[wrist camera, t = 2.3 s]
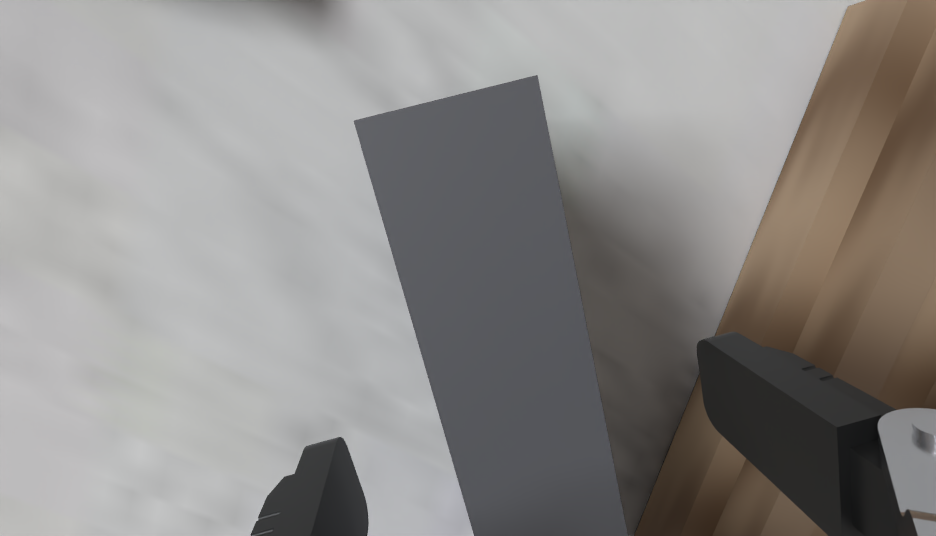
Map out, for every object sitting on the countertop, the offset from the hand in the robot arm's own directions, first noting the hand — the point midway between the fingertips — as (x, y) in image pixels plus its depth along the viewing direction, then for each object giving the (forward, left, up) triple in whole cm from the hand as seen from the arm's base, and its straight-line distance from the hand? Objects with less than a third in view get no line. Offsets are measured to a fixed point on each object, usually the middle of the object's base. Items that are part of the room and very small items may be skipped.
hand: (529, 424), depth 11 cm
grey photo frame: (0, 0, -5) cm, 5 cm away
